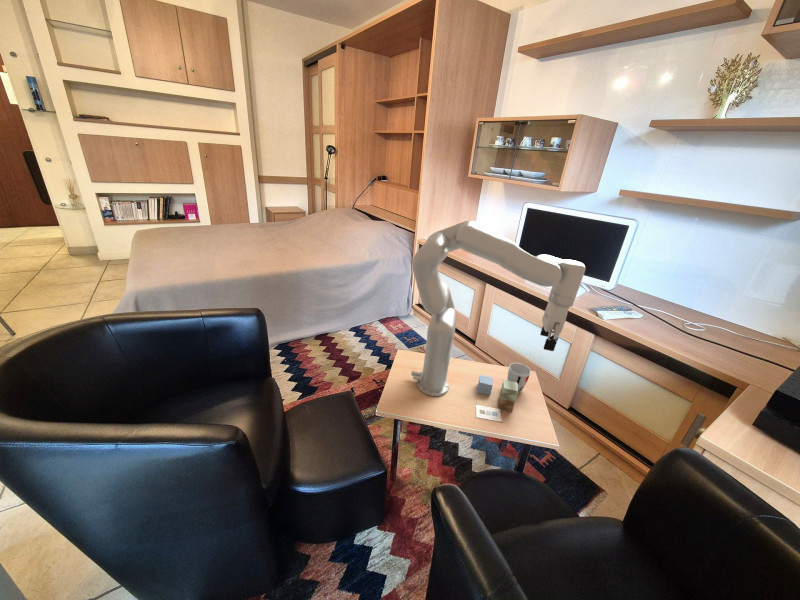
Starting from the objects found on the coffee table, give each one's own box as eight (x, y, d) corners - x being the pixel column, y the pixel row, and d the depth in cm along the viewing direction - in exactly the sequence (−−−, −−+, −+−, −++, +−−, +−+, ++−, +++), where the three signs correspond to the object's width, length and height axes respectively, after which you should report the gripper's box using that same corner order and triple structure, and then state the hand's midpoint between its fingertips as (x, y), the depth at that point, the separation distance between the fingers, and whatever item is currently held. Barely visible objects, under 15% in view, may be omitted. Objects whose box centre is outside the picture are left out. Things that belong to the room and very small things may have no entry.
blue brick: (477, 392, 130) (479, 382, 128) (477, 384, 135) (480, 374, 133) (490, 395, 129) (492, 385, 127) (490, 387, 134) (492, 377, 132)
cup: (511, 396, 130) (517, 376, 125) (500, 383, 137) (505, 363, 132) (528, 394, 132) (535, 374, 128) (517, 381, 139) (522, 361, 135)
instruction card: (476, 417, 118) (476, 416, 118) (475, 405, 124) (475, 404, 124) (501, 422, 117) (502, 421, 117) (500, 409, 123) (500, 408, 122)
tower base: (498, 409, 123) (503, 387, 119) (498, 400, 127) (503, 379, 123) (511, 412, 122) (518, 391, 118) (511, 403, 126) (517, 382, 122)
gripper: (546, 286, 115) (532, 328, 123) (553, 306, 100) (537, 353, 107) (568, 290, 114) (554, 333, 121) (579, 311, 99) (562, 358, 106)
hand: (546, 342), depth 114 cm, fingers open, 9 cm apart
